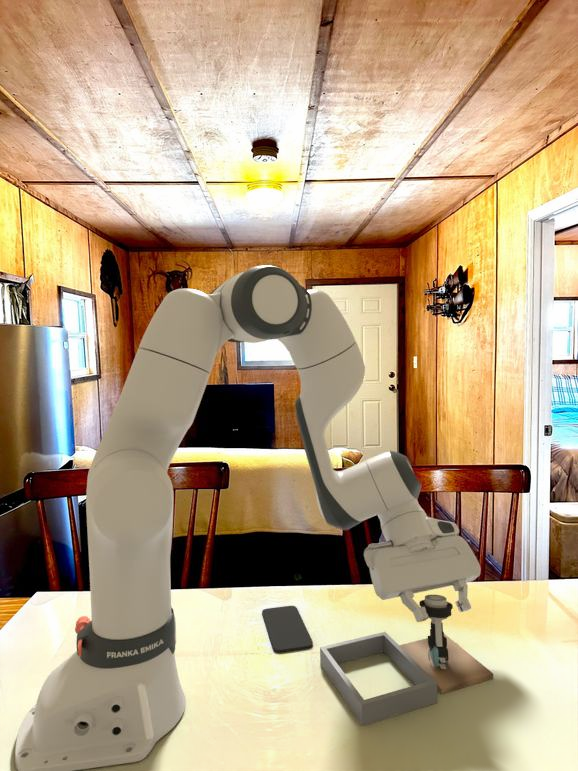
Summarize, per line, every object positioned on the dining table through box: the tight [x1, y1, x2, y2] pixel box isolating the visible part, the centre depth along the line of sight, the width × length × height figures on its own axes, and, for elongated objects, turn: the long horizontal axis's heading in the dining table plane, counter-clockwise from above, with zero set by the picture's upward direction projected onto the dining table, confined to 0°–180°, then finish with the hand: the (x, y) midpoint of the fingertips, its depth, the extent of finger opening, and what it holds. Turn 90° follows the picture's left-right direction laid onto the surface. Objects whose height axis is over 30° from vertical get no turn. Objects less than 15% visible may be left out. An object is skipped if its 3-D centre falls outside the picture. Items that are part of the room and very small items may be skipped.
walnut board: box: [398, 633, 494, 695], centre depth 80 cm, size 10×12×1 cm
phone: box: [261, 605, 314, 654], centre depth 91 cm, size 7×1×15 cm
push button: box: [418, 594, 454, 669], centre depth 78 cm, size 7×5×10 cm
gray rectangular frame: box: [319, 631, 438, 727], centre depth 75 cm, size 13×15×3 cm
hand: (445, 615), depth 79 cm, fingers open, 7 cm apart
